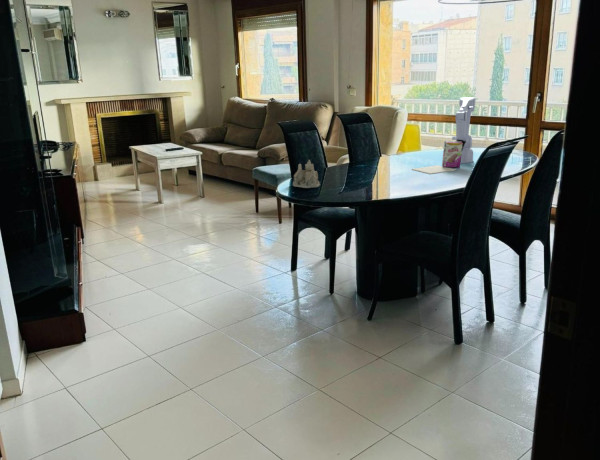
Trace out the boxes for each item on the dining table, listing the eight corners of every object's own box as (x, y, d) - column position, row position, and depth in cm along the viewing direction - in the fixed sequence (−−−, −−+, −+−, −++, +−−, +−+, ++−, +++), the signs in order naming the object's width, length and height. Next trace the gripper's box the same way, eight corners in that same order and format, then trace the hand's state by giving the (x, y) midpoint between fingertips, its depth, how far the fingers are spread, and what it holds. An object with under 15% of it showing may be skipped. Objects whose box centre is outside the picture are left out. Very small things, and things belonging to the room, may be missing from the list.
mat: (437, 166, 363) (437, 165, 363) (456, 170, 345) (456, 169, 345) (411, 169, 356) (411, 168, 356) (430, 174, 338) (430, 173, 338)
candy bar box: (442, 167, 354) (445, 142, 347) (441, 165, 358) (444, 140, 352) (460, 167, 353) (463, 142, 346) (459, 165, 357) (461, 141, 351)
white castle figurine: (292, 183, 336) (292, 159, 331) (319, 182, 336) (319, 158, 330) (292, 190, 321) (291, 165, 316) (319, 189, 321) (319, 164, 316)
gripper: (448, 130, 357) (448, 151, 361) (463, 132, 344) (462, 153, 348) (457, 129, 360) (457, 149, 363) (472, 131, 347) (471, 152, 350)
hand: (460, 151), depth 356 cm, fingers closed
